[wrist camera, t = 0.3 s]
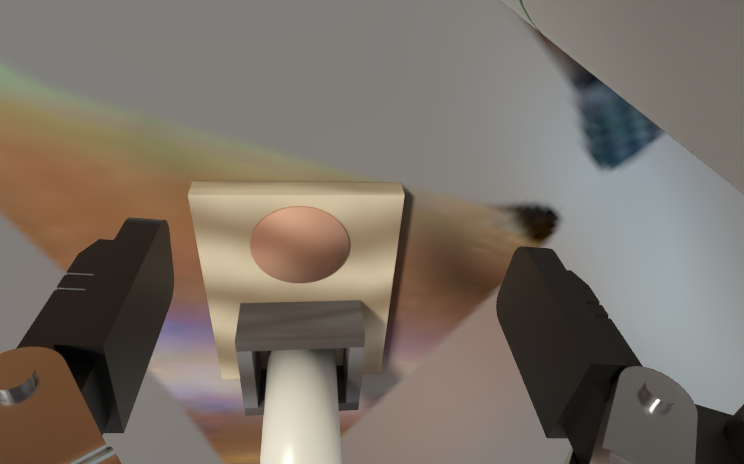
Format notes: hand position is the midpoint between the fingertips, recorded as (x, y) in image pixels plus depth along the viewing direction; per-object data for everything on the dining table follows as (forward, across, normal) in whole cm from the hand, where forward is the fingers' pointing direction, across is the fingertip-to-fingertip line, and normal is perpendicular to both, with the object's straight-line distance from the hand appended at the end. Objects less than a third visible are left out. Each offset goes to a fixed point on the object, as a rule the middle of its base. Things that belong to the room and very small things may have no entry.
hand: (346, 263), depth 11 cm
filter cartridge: (+18, 0, +22) cm, 28 cm away
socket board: (+19, 0, +17) cm, 26 cm away
